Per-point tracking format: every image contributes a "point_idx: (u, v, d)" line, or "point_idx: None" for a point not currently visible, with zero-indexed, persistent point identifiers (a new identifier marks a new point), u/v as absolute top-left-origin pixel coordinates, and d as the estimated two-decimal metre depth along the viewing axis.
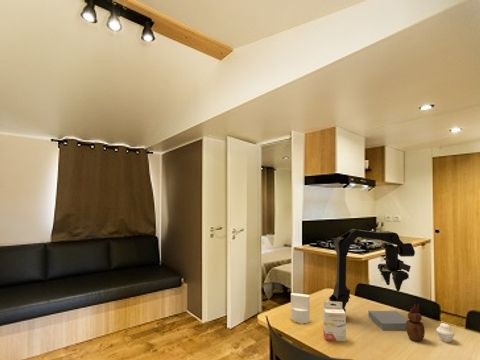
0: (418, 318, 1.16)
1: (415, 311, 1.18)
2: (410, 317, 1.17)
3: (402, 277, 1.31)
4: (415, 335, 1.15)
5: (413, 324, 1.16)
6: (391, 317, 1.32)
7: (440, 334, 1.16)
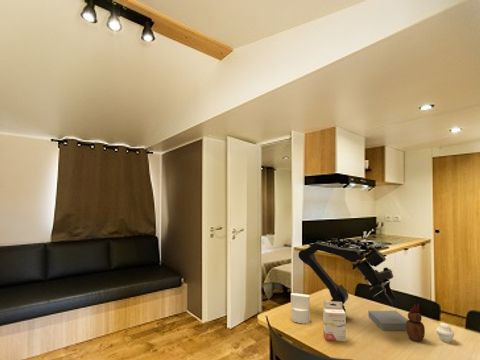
0: (418, 318, 1.16)
1: (415, 311, 1.18)
2: (410, 317, 1.17)
3: (376, 292, 1.21)
4: (415, 335, 1.15)
5: (413, 324, 1.16)
6: (391, 317, 1.32)
7: (440, 334, 1.16)
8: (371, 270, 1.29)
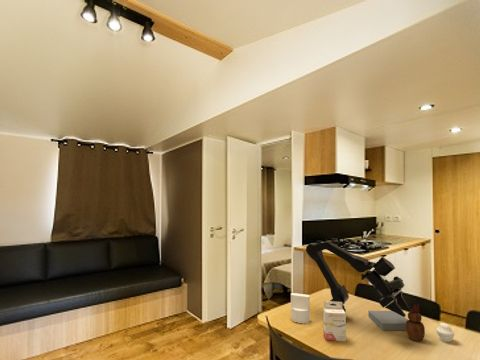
0: (418, 318, 1.16)
1: (415, 311, 1.18)
2: (410, 317, 1.17)
3: (386, 303, 1.17)
4: (415, 335, 1.15)
5: (413, 324, 1.16)
6: (391, 317, 1.32)
7: (440, 334, 1.16)
8: (381, 280, 1.26)
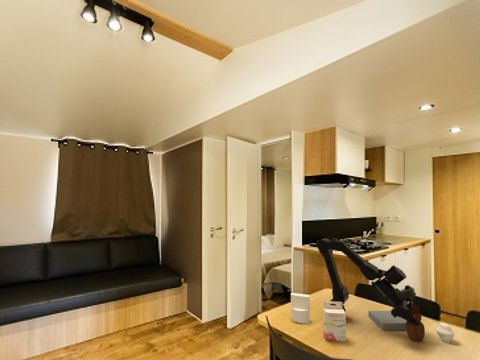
0: (418, 318, 1.16)
1: (415, 311, 1.18)
2: None
3: (398, 313, 1.14)
4: (415, 335, 1.15)
5: (413, 324, 1.16)
6: (391, 317, 1.32)
7: (440, 334, 1.16)
8: (391, 289, 1.23)
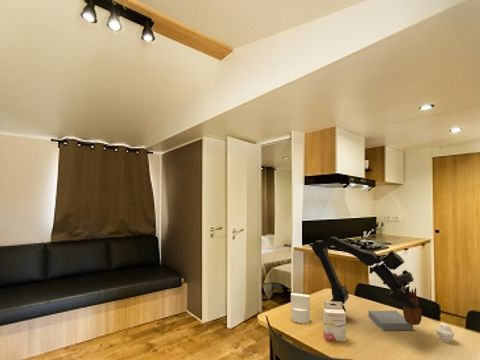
0: (416, 302, 1.18)
1: (412, 295, 1.20)
2: None
3: (396, 297, 1.15)
4: (412, 318, 1.17)
5: (410, 308, 1.18)
6: (391, 317, 1.32)
7: (440, 334, 1.16)
8: (390, 274, 1.24)
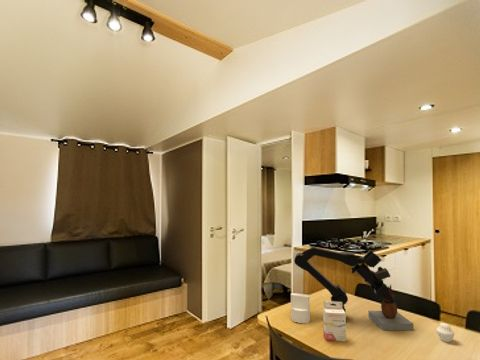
0: (393, 298, 1.31)
1: (389, 292, 1.33)
2: None
3: (383, 292, 1.26)
4: (391, 313, 1.30)
5: (389, 304, 1.31)
6: None
7: (440, 334, 1.16)
8: (370, 271, 1.35)
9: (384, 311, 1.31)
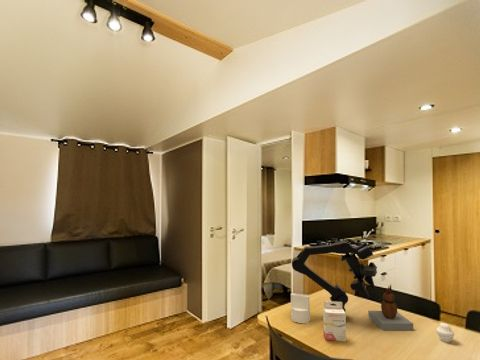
0: (393, 298, 1.31)
1: (389, 292, 1.33)
2: (386, 298, 1.31)
3: (356, 288, 1.31)
4: (391, 313, 1.30)
5: (389, 304, 1.31)
6: None
7: (440, 334, 1.16)
8: (357, 265, 1.36)
9: (384, 311, 1.31)
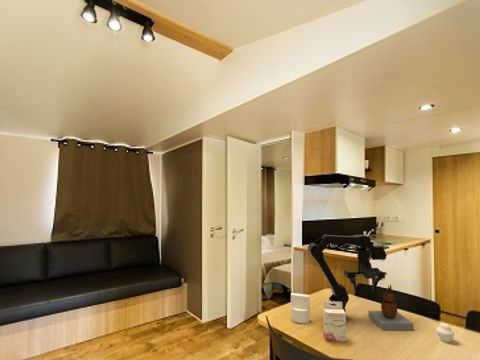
0: (393, 298, 1.31)
1: (389, 292, 1.33)
2: (386, 298, 1.31)
3: (345, 275, 1.40)
4: (391, 313, 1.30)
5: (389, 304, 1.31)
6: None
7: (440, 334, 1.16)
8: (362, 261, 1.38)
9: (384, 311, 1.31)
